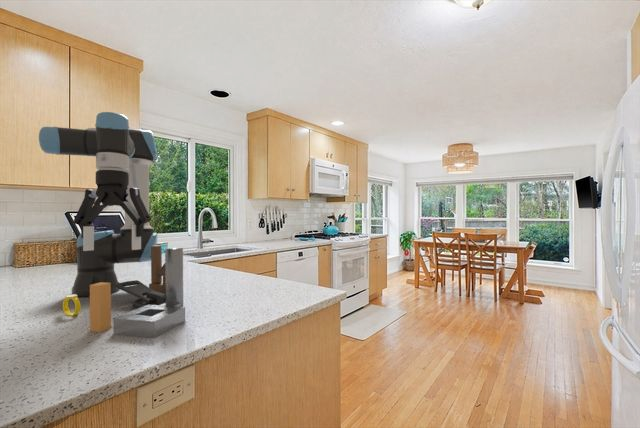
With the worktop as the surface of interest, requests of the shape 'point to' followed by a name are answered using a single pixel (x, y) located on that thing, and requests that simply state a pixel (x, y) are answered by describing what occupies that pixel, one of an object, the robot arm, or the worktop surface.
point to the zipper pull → (142, 294)
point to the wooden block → (157, 270)
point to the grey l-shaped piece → (161, 316)
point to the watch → (77, 305)
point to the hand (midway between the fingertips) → (112, 250)
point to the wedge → (100, 306)
